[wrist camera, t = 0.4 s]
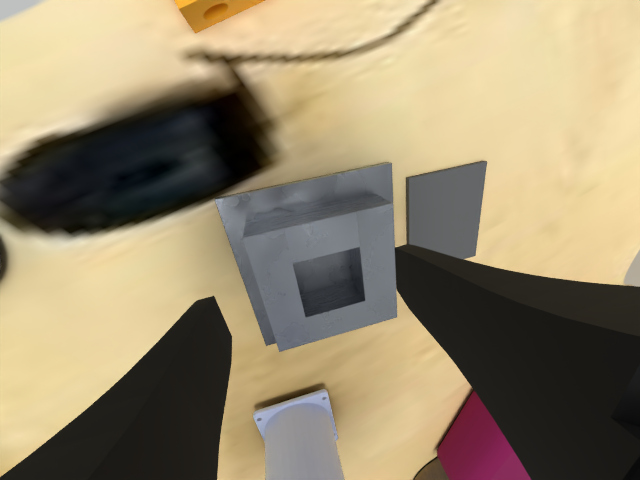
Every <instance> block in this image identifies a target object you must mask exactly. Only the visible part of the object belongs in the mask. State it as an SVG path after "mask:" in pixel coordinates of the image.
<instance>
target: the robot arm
mask: <svg viewBox="0 0 640 480" xmlns="http://www.w3.org/2000/svg"><path fill="white" fill-rule="evenodd" d="M395 268H396V288H397V290H398V292H399V294H400V295H401V297H402V298H403V300H404V302H405V303H406V305H407V306H408V308H409V309H410V310H411V311H412V313H413V314H414V315H415V316H416V317H417V319H418V320H419V321H420V322H421V323H422V325H423V326H424V327H425V328H426V329H427V330H428V332H429V333H430V334H431V335H432V336H433V337H434V339H435V340H436V341H437V342H438V343H439V344H440V346H441V347H442V348H443V349H444V350H445V351H446V353H447V354H448V355H449V356H450V358H451V359H452V360H453V361H454V363H455V364H456V365H457V367H458V368H459V369H460V371H461V372H462V374H463V375H464V376H465V378H466V379H467V381H468V382H469V384H470V385H471V386H472V388H473V389H474V391H475V392H476V394H477V395H478V397H479V398H480V400H481V401H482V403H483V404H484V406H485V407H486V409H487V410H488V412H489V413H490V415H491V416H492V418H493V419H494V421H495V422H496V424H497V425H498V427H499V428H500V430H501V432H502V433H503V435H504V436H505V438H506V439H507V441H508V443H509V444H510V446H511V447H512V449H513V450H514V452H515V454H516V455H517V457H518V458H519V460H520V462H521V463H522V465H523V467H524V468H525V470H526V472H527V473H528V475H529V477H530V478H531V480H640V287H636V286H623V285H610V284H598V283H588V282H579V281H571V280H563V279H556V278H548V277H542V276H535V275H530V274H524V273H519V272H514V271H508V270H504V269H499V268H495V267H491V266H487V265H482V264H478V263H474V262H471V261H467V260H463V259H460V258H456V257H453V256H450V255H446V254H443V253H440V252H436V251H433V250H430V249H426V248H423V247H419V246H415V245H410V244H407V245H403V246H399V247H396V248H395ZM231 357H232V336H231V333H230V331H229V329H228V327H227V324H226V322H225V320H224V318H223V315H222V313H221V311H220V308H219V306H218V304H217V302H216V299H215V297H214V296H212V297H208V298H204V299H201V300H197V301H196V302H195V303H194V304H193V305H192V306H191V307H190V308H189V309H188V310H187V311H186V312H185V313H184V314H183V315H182V316H181V317H180V319H179V320H178V321H177V322H176V323H175V324H174V325H173V326H172V327H171V328H170V329H169V330H168V332H167V333H166V334H165V335H164V336H163V337H162V338H161V339H160V340H159V341H158V342H157V343H156V344H155V345H154V346H153V347H152V348H151V349H150V350H149V351H148V352H147V353H146V354H145V355H144V356H143V357H142V358H141V359H140V360H139V361H138V362H137V363H136V364H135V365H134V366H133V367H132V368H131V369H130V370H129V371H128V372H127V373H126V374H125V375H124V376H123V377H122V378H121V379H120V380H119V381H118V382H117V383H116V384H115V385H114V386H112V387H111V388H110V389H109V390H108V391H107V392H106V393H105V394H103V395H102V396H101V397H100V398H99V399H98V400H97V401H95V402H94V403H93V404H92V405H91V406H90V407H89V408H87V409H86V410H85V411H84V412H83V413H82V414H80V415H79V416H78V417H77V418H75V419H74V420H73V421H72V422H70V423H69V424H68V425H67V426H65V427H64V428H63V429H62V430H60V431H59V432H58V433H57V434H55V435H54V436H53V437H52V438H51V439H49V440H48V441H47V442H46V443H44V444H43V445H42V446H41V447H39V448H38V449H37V450H36V451H34V452H33V453H32V454H30V455H29V456H28V457H27V458H25V459H24V460H23V461H21V462H20V463H19V464H17V465H16V466H15V467H13V468H12V469H11V470H9V471H8V472H7V473H5V474H4V475H3V476H1V477H0V480H217V470H218V454H219V442H220V433H221V426H222V420H223V413H224V407H225V401H226V394H227V388H228V381H229V375H230V368H231ZM253 418H254V420H255V422H256V425H257V427H258V429H259V431H260V433H261V435H262V438H263V440H264V442H265V480H345V479H344V475H343V470H342V466H341V462H340V458H339V454H338V450H337V446H336V440H337V439H338V435H337V431H336V427H335V422H334V418H333V414H332V409H331V405H330V401H329V396H328V392H327V390H326V389H322V390H319V391H316V392H312V393H309V394H306V395H303V396H300V397H297V398H294V399H291V400H288V401H284V402H281V403H278V404H275V405H272V406H269V407H266V408H263V409H259V410H257V411H255V412H254V413H253Z"/></svg>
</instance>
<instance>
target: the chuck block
mask: <svg viewBox="0 0 640 480" xmlns="http://www.w3.org/2000/svg"><path fill="white" fill-rule="evenodd" d="M215 202H216V205H217V208H218V211H219V214H220V216H221V219H222V222H223V225H224V228H225V231H226V233H227V236H228V239H229V242H230V245H231V248H232V250H233V253H234V256H235V259H236V262H237V265H238V267H239V270H240V273H241V276H242V279H243V282H244V284H245V287H246V290H247V293H248V296H249V298H250V301H251V304H252V307H253V310H254V313H255V315H256V318H257V321H258V324H259V327H260V330H261V332H262V335H263V338H264V341H265V344H266V346H267V345H271V344H274V343H277V346H278V349H279V352H280V351H284V350H287V349H291V348H294V347H297V346H301V345H304V344H308V343H311V342H314V341H318V340H321V339H325V338H328V337H331V336H335V335H338V334H342V333H345V332H348V331H352V330H355V329H359V328H362V327H365V326H369V325H372V324H376V323H379V322H382V321H386V320H389V319H393V318H396V317H397V298H396V270H395V241H394V213H393V184H392V163H389V162H387V163H382V164H377V165H372V166H367V167H363V168H358V169H353V170H348V171H343V172H338V173H334V174H329V175H324V176H319V177H314V178H310V179H305V180H300V181H295V182H290V183H285V184H281V185H276V186H271V187H266V188H261V189H257V190H252V191H247V192H242V193H237V194H232V195H228V196H223V197H218V198H216V199H215Z"/></svg>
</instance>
